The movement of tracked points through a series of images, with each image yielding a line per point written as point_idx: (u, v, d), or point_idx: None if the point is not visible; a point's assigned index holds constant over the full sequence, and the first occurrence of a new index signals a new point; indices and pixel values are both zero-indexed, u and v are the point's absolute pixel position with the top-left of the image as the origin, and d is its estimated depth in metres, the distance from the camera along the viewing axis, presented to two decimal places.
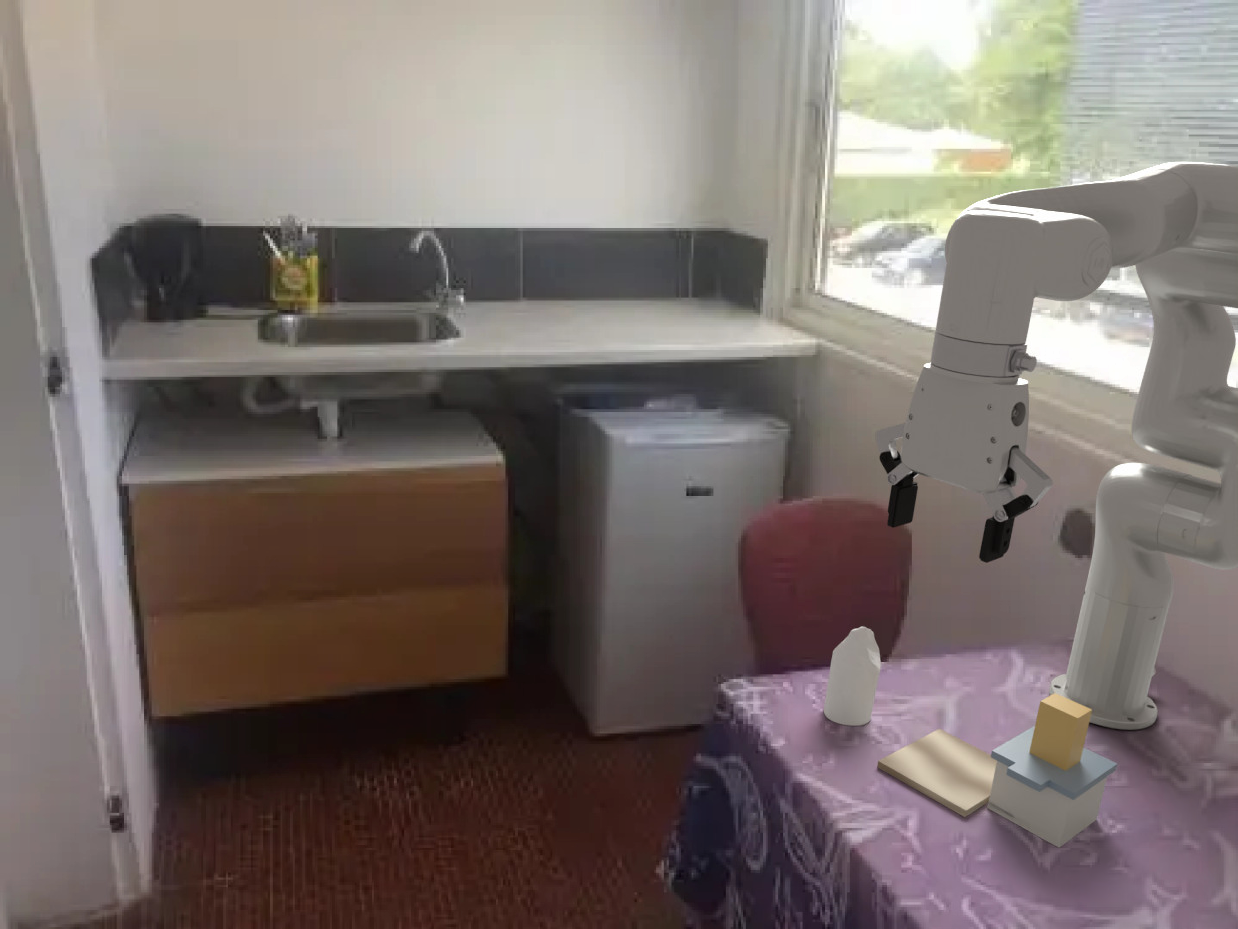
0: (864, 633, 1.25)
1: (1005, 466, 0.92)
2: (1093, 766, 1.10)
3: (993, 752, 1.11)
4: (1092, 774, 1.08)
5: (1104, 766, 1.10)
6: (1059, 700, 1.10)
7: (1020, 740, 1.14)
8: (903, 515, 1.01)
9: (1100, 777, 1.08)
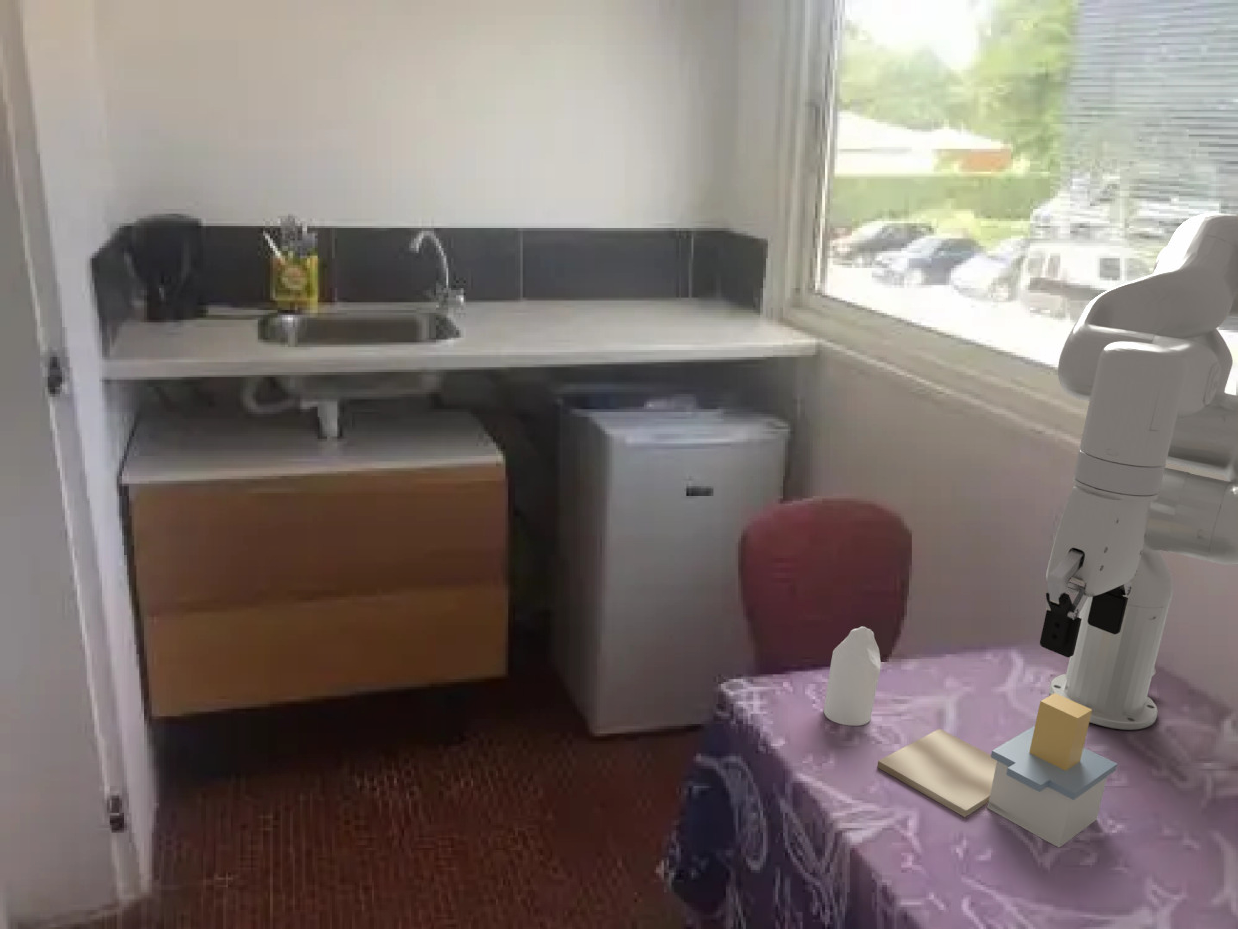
0: (864, 633, 1.25)
1: None
2: (1093, 766, 1.10)
3: (993, 752, 1.11)
4: (1092, 774, 1.08)
5: (1104, 766, 1.10)
6: (1059, 700, 1.10)
7: (1020, 740, 1.14)
8: None
9: (1100, 777, 1.08)
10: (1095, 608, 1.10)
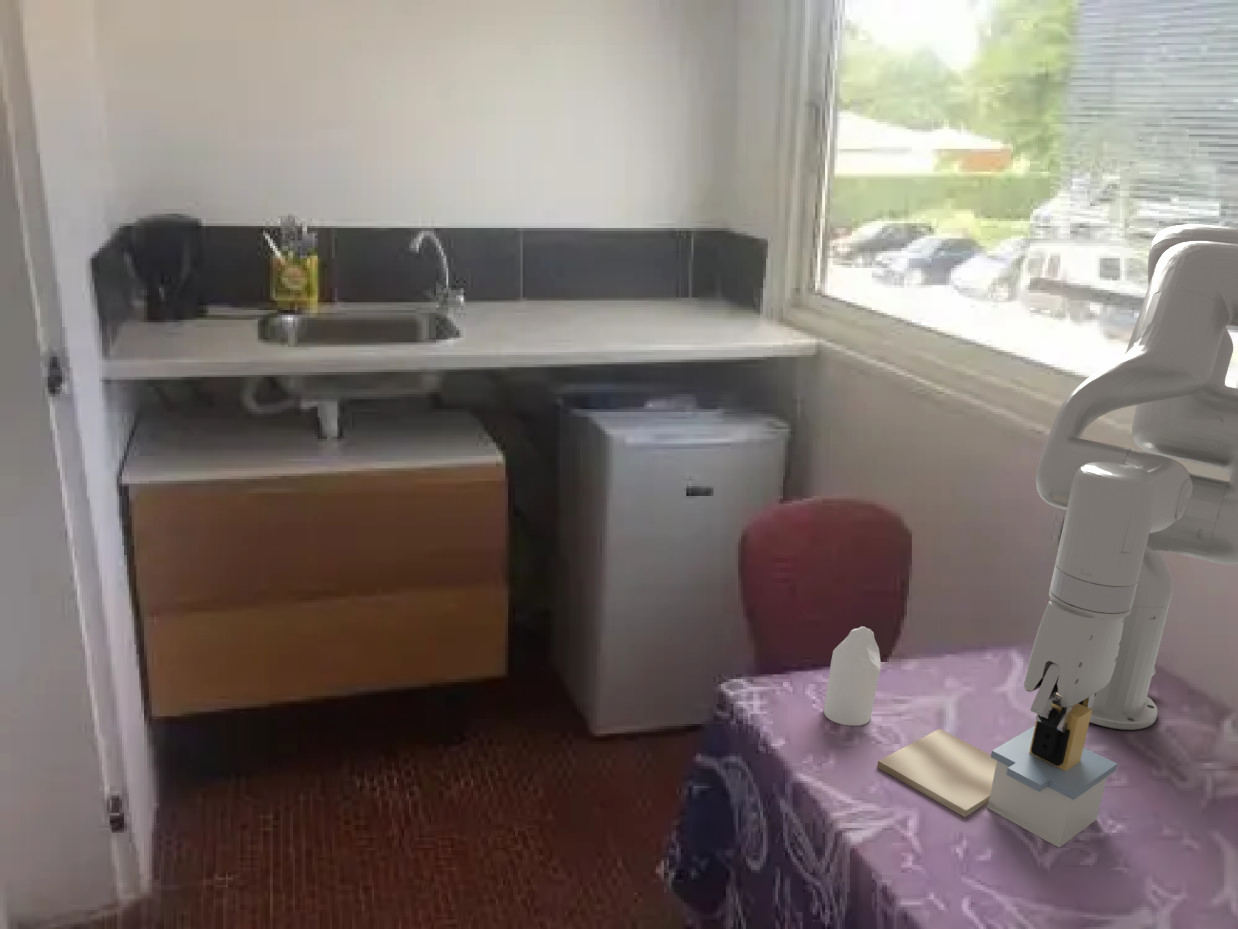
0: (864, 633, 1.25)
1: None
2: (1093, 766, 1.10)
3: (993, 752, 1.11)
4: (1092, 774, 1.08)
5: (1104, 766, 1.10)
6: None
7: (1020, 740, 1.14)
8: None
9: (1100, 777, 1.08)
10: None
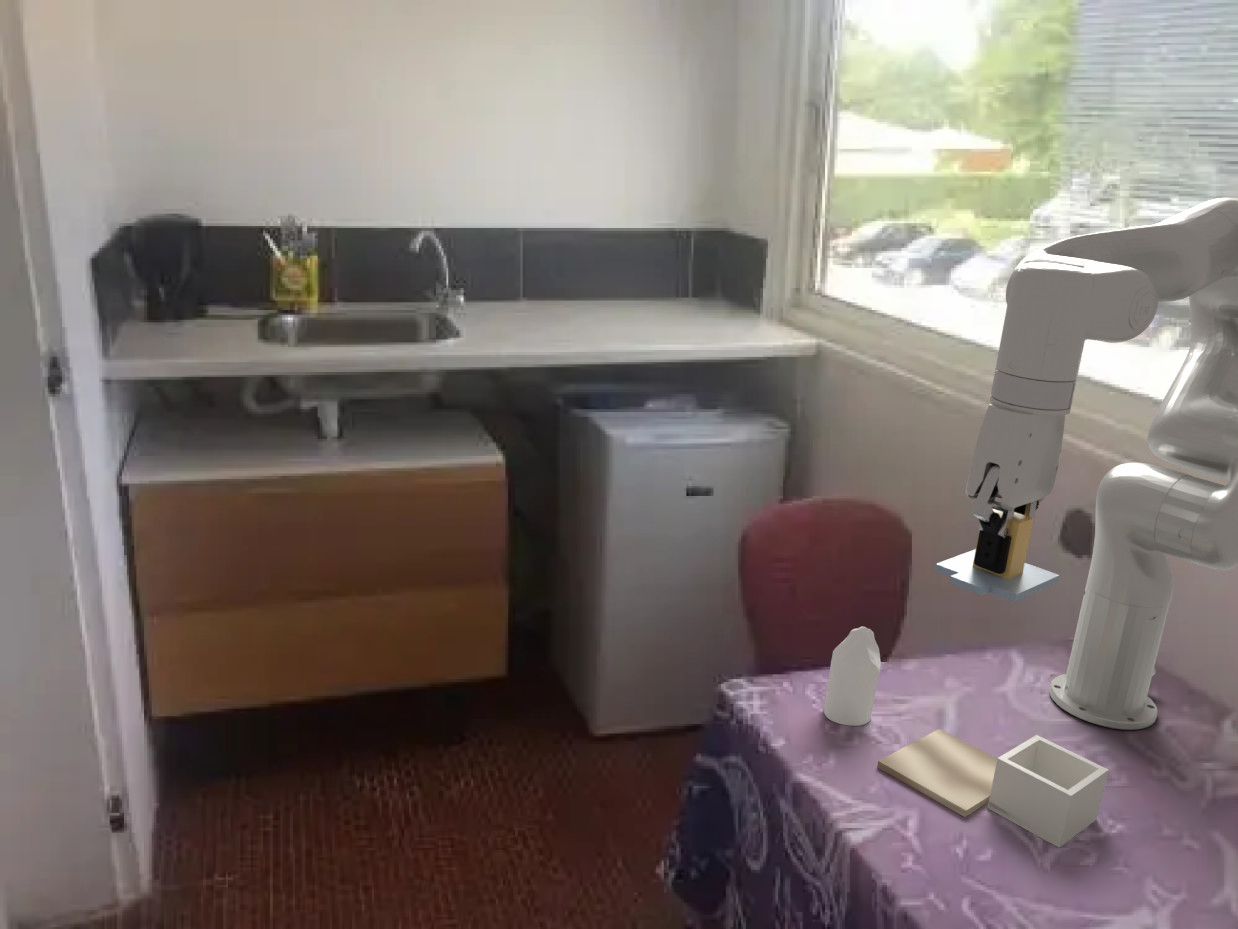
0: (864, 633, 1.25)
1: None
2: (1035, 576, 1.10)
3: (937, 565, 1.11)
4: (1034, 582, 1.09)
5: (1046, 576, 1.10)
6: (1001, 511, 1.10)
7: (964, 557, 1.14)
8: None
9: (1042, 585, 1.09)
10: None
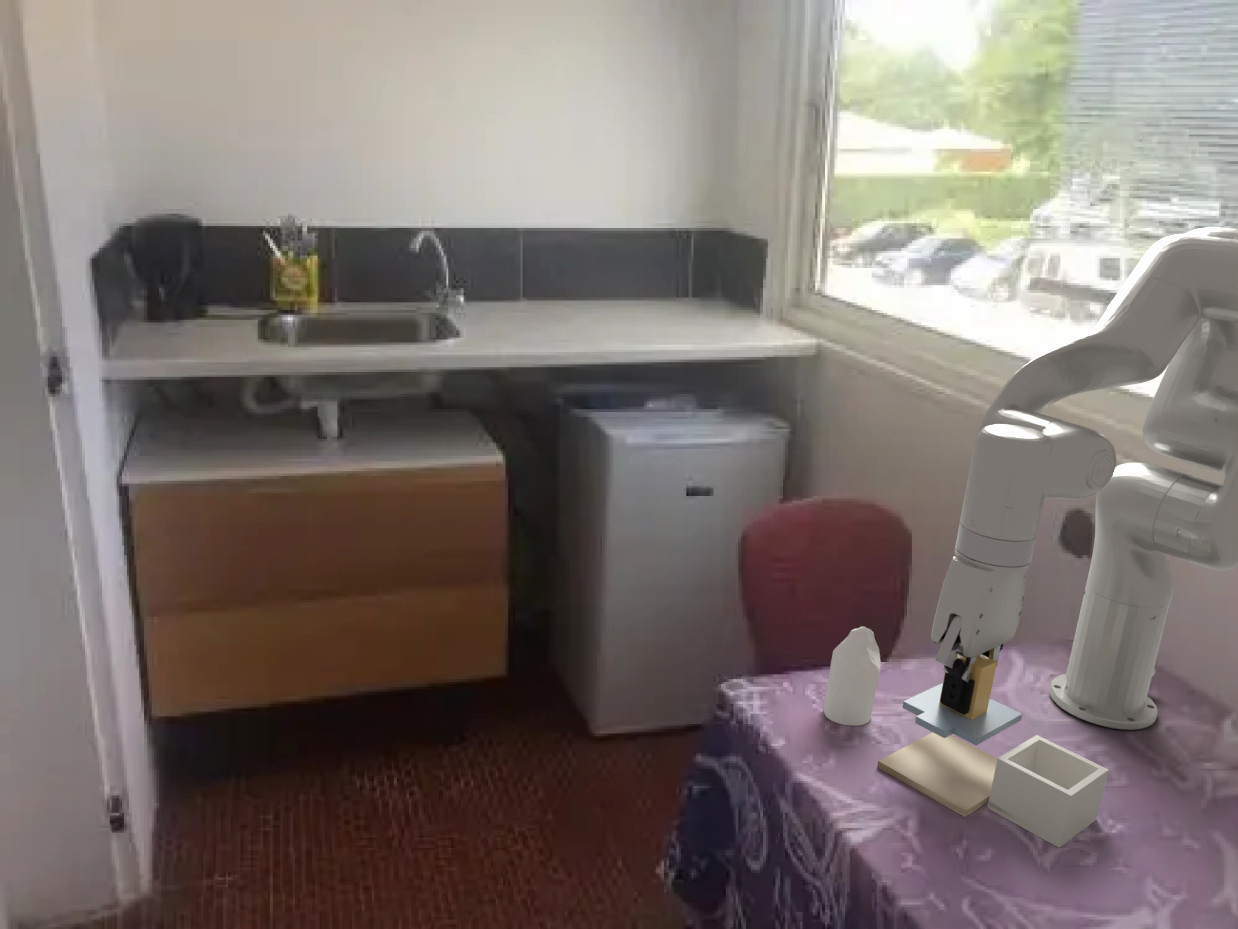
0: (864, 633, 1.25)
1: None
2: (998, 716, 1.15)
3: (904, 703, 1.17)
4: (996, 723, 1.14)
5: (1009, 716, 1.16)
6: None
7: (932, 692, 1.19)
8: None
9: (1004, 726, 1.14)
10: None
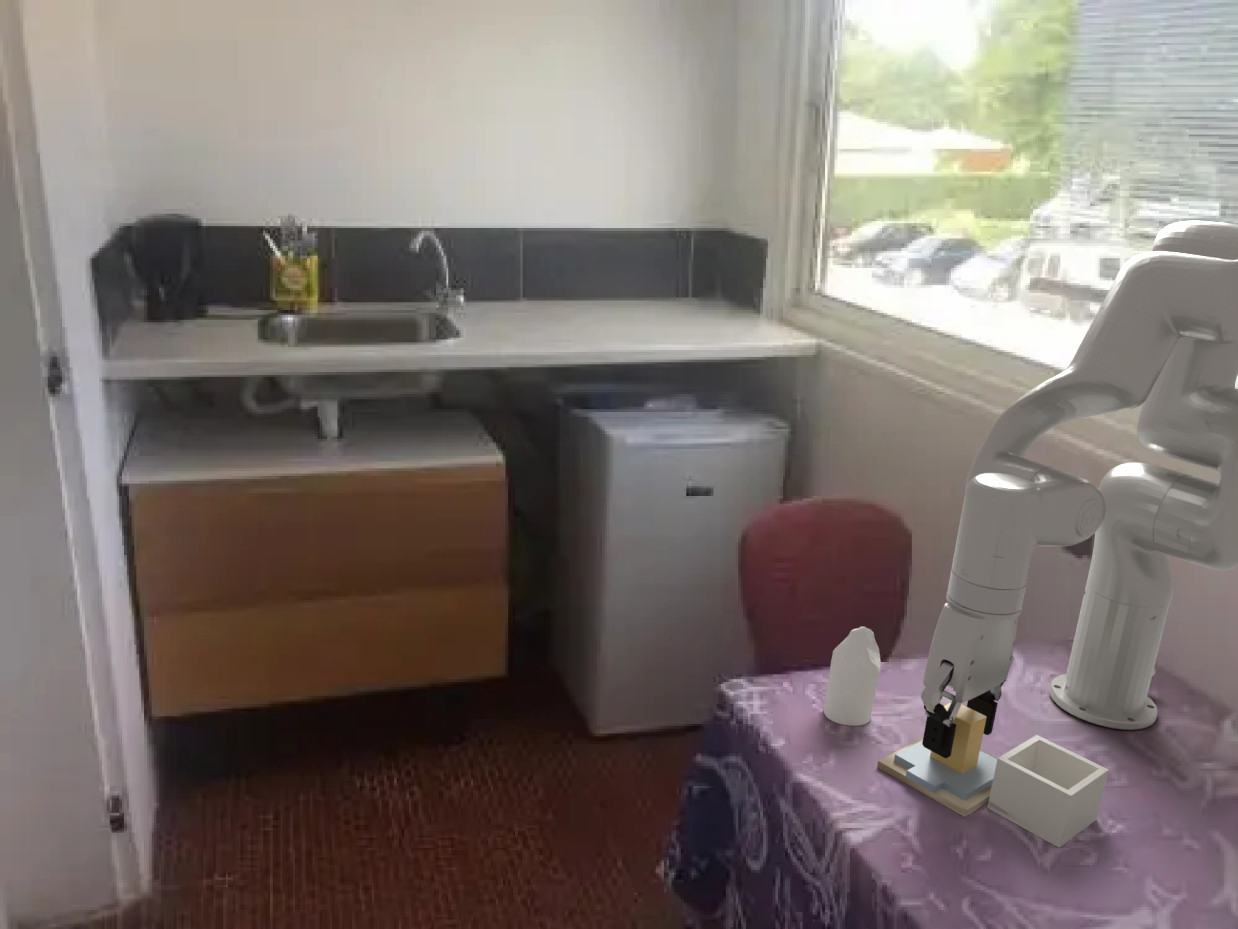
0: (864, 633, 1.25)
1: None
2: (988, 770, 1.17)
3: (896, 756, 1.19)
4: (986, 777, 1.16)
5: None
6: None
7: None
8: None
9: None
10: None
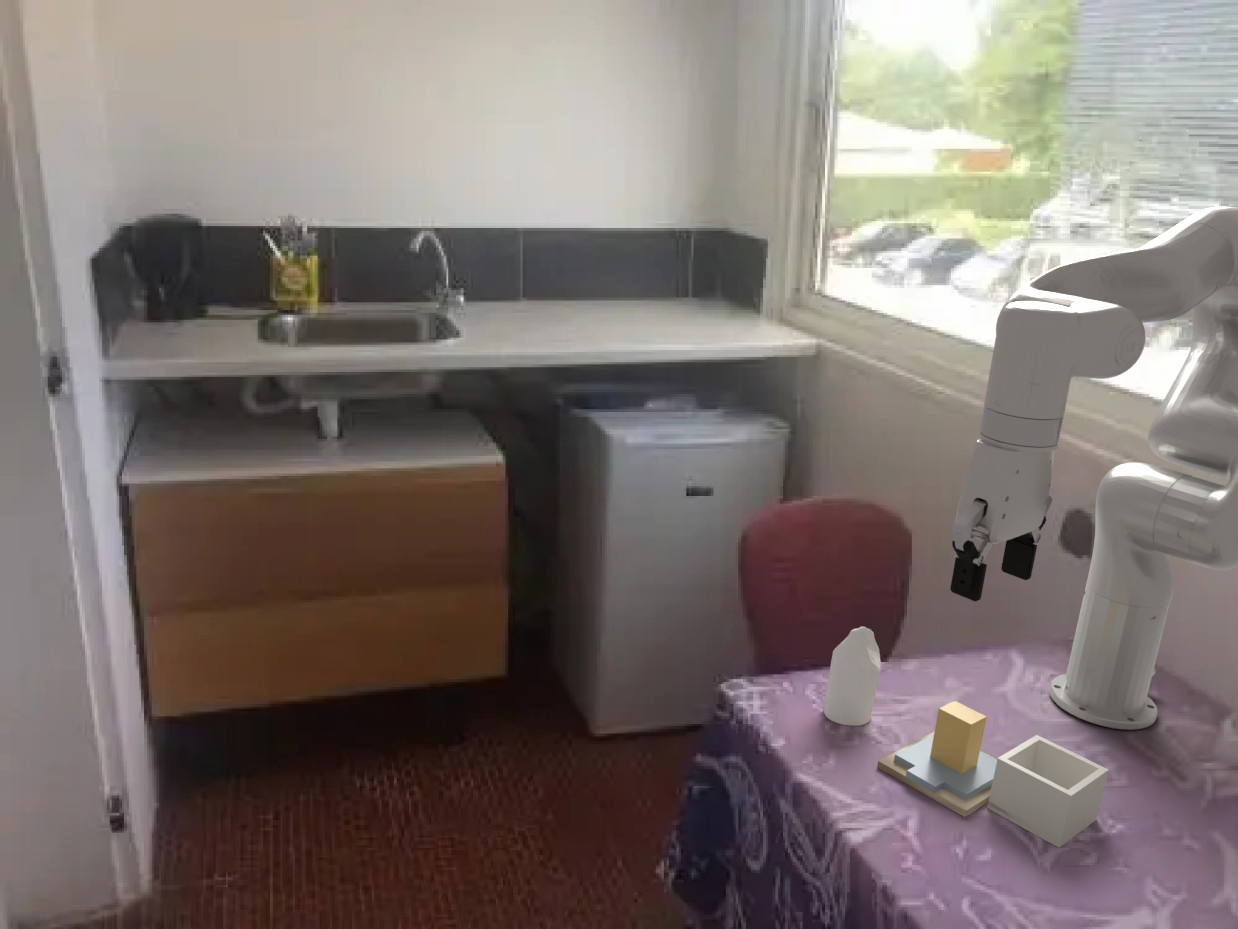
0: (864, 633, 1.25)
1: None
2: (988, 770, 1.17)
3: (896, 756, 1.19)
4: (986, 777, 1.16)
5: None
6: (957, 707, 1.18)
7: (923, 744, 1.21)
8: None
9: None
10: (1007, 556, 1.16)
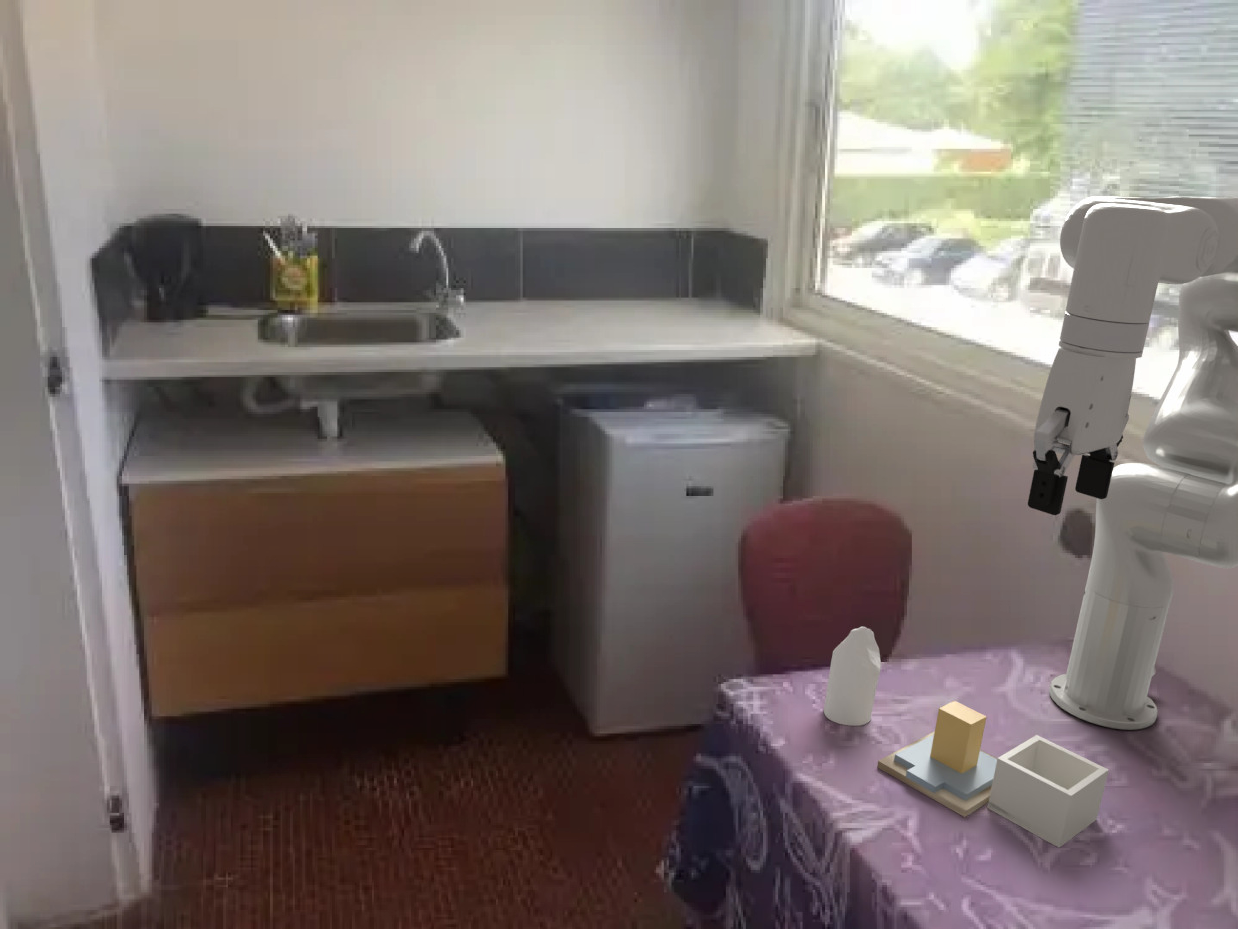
0: (864, 633, 1.25)
1: None
2: (988, 770, 1.17)
3: (896, 756, 1.19)
4: (986, 777, 1.16)
5: None
6: (957, 707, 1.18)
7: (923, 744, 1.21)
8: None
9: None
10: (1082, 475, 1.12)
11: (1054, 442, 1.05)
